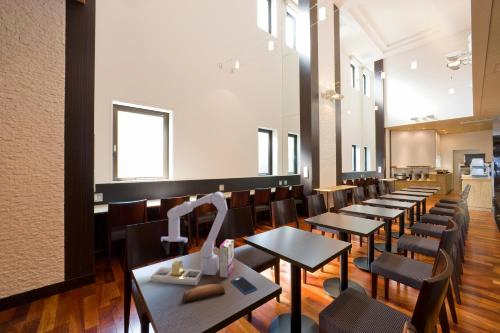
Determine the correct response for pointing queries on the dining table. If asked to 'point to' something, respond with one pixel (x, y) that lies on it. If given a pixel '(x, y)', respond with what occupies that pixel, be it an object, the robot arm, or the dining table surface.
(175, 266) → the brass block
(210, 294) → the brown rounded bar
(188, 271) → the white compartment tray
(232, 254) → the candy bar box
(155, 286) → the dining table surface
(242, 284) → the cell phone
